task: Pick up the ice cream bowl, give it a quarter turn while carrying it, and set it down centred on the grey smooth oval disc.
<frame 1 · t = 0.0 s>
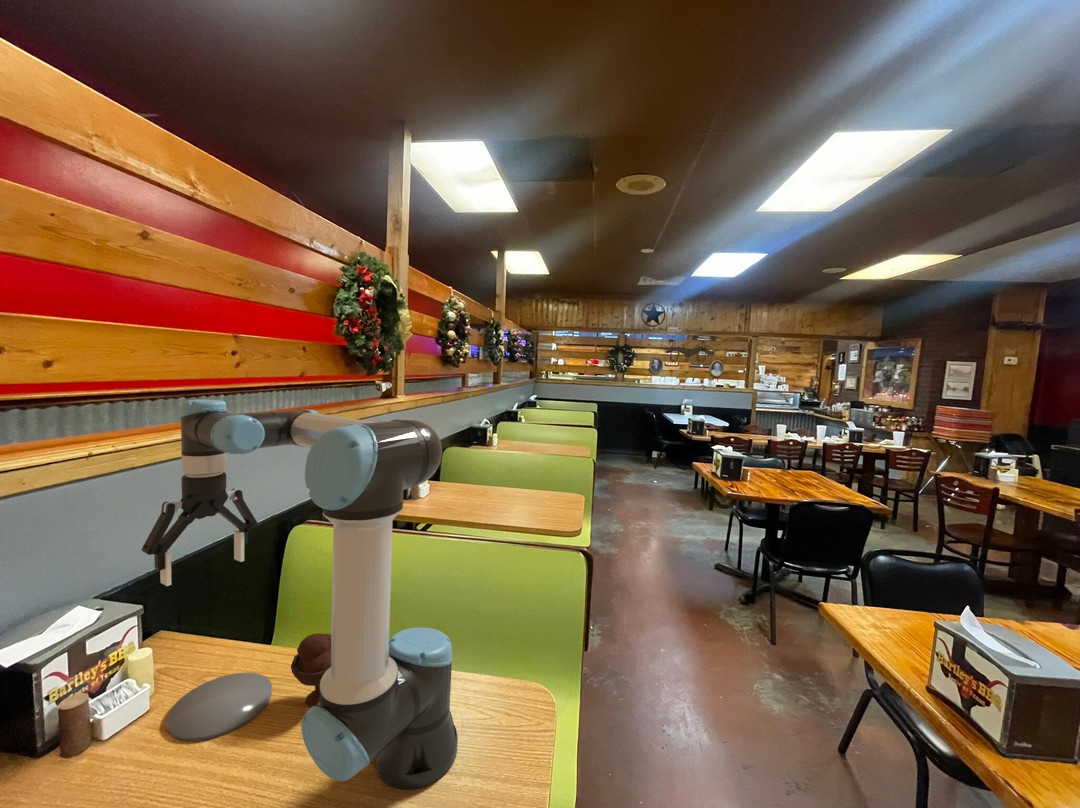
hand: (204, 571, 94), 28 cm above the table, fingers open, 13 cm apart
grey smooth oval disc: (222, 705, 93), on the table
ice cream bowl: (319, 699, 97), on the table
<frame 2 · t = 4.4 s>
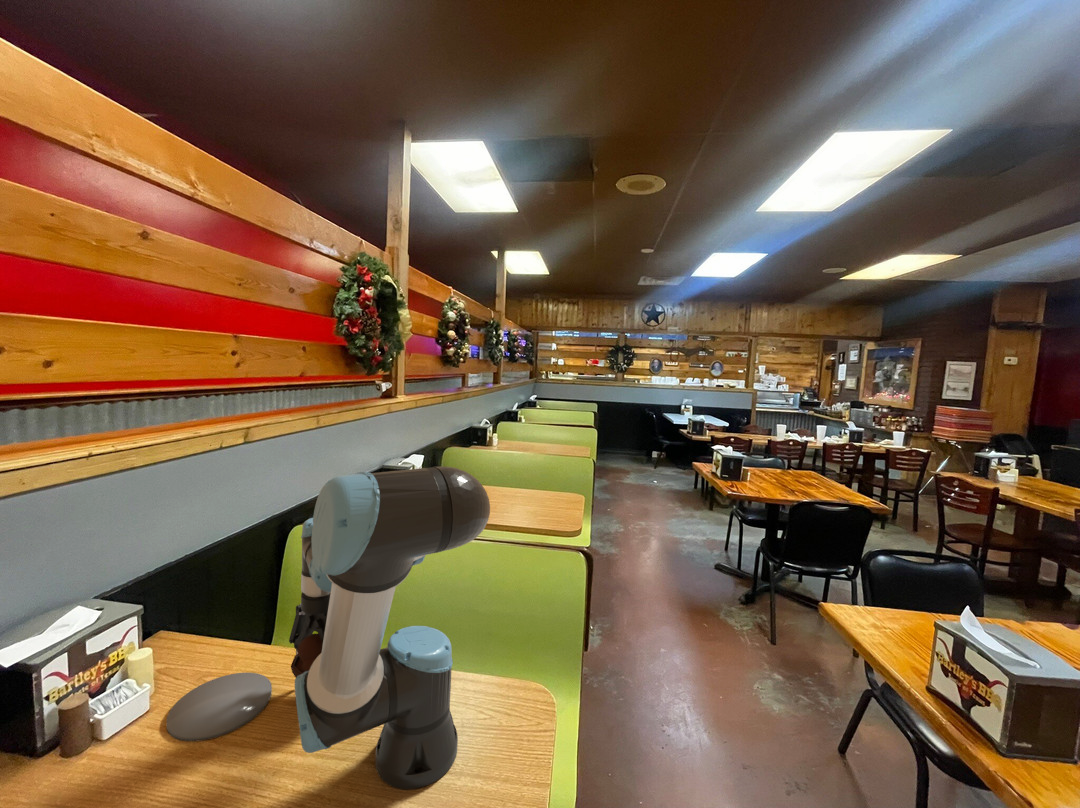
hand: (319, 685, 97), 3 cm above the table, fingers closed on ice cream bowl, 11 cm apart
ice cream bowl: (319, 699, 97), on the table, touching gripper
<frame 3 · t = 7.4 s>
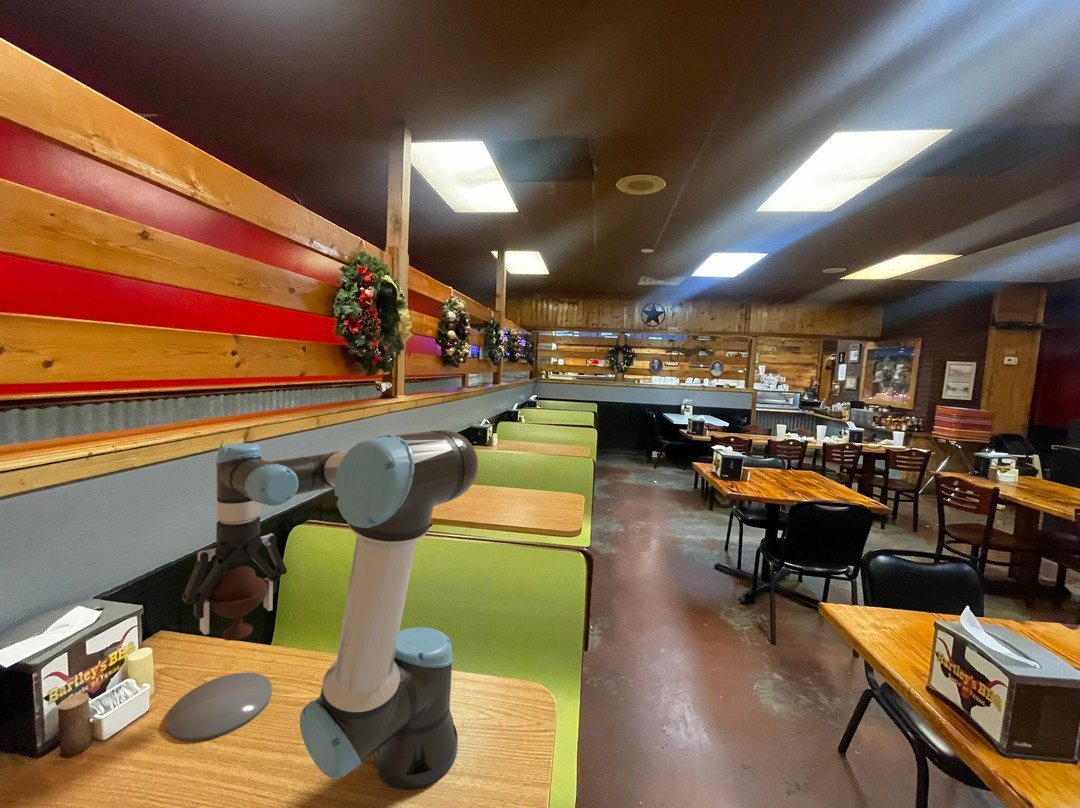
hand: (237, 619, 93), 19 cm above the table, fingers closed on ice cream bowl, 11 cm apart
ice cream bowl: (237, 633, 93), point 15 cm above the table, touching gripper
when the fingers open (6 cm above the table, at t = 10.6 s): ice cream bowl drops 2 cm, resting on grey smooth oval disc.
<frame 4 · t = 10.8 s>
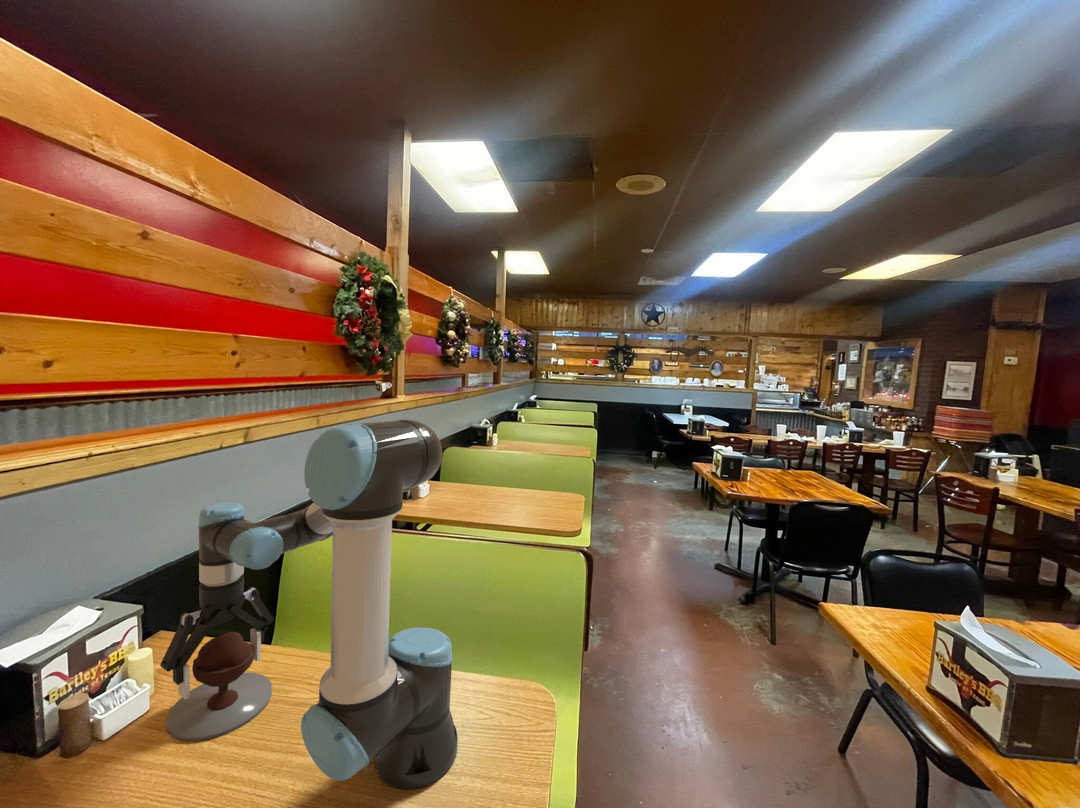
hand: (222, 676, 93), 7 cm above the table, fingers open, 13 cm apart
ice cream bowl: (222, 701, 94), point 1 cm above the table, touching grey smooth oval disc
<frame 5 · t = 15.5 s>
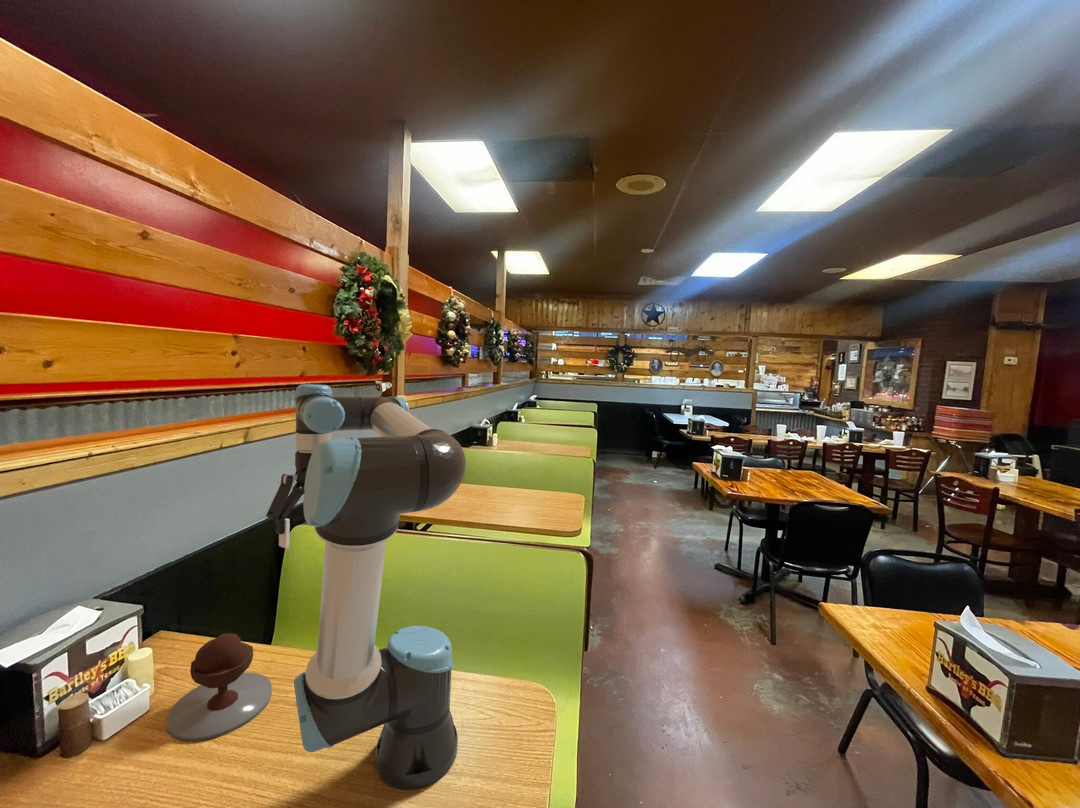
hand: (312, 537, 106), 32 cm above the table, fingers open, 13 cm apart
nothing on the table moved.
at the end: ice cream bowl inside the target area on the grey smooth oval disc (0.1 cm from its centre), point 0.8 cm above the grey smooth oval disc's base; ice cream bowl tilted 0°; the gripper is holding nothing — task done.
